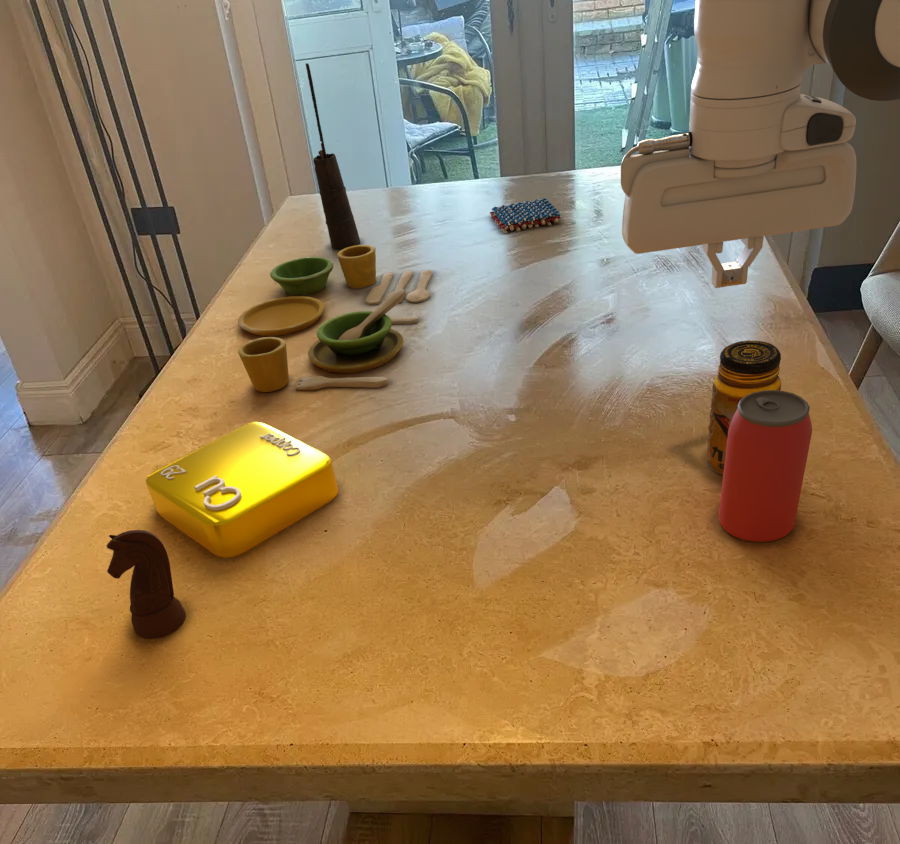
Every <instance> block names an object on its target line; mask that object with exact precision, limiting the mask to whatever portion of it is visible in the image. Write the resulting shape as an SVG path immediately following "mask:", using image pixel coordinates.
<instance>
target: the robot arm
mask: <svg viewBox="0 0 900 844" xmlns="http://www.w3.org/2000/svg"><path fill="white" fill-rule="evenodd" d="M694 3H695V4H694V21H693V33H694V41H695V44H696V52H697V58H696V59H697V61H696V66H695V70H694V71H695V72H694V75H693V78H692V82H691V86H690V103H689V105H690V106H689V124H688V132H685V133H679V134H674V135H669V136H665V137H662V138H656V139H654V138H646V139H643V140H640V141H638V142H637V145H635V146H634V147H632V148H630V149H629V150H628V151H627V152H626V153H625V154H624V156H623V158H622V161H621V164H620V187H621V189H622V191H623V193H624V194H625V196H624V202H623V210H622V220H621V223H622V224H621V236H622V239H623V242H624V244H625V245H626V247H628V248H629V250H630V251H631V252H632V253H634V254H636V255H640V254H648V253H653V252H661V251H668V250H675V249H682V248H690V247H696V246H701V249H702V251H703V252H704V254H705V256H706V258H707V261H708V262H709V263H710V265H711V266H712V267H711V284H712V285H711V286H713V288H714V289H720V288H726V287H733V286H734V287H735V286H742V285H746V284H747V282H748V274H749V272H748V271H749V267H751V265H752V264H753V262H754V261H755V259H756V258H757V257H758V255H759V253H760V252H761V251H762V249H763V245H764V237H767V236H772V235H780V234H788V233H796V232H802V231H808V230H815V229H823V228H829V227H836V226H840V225H842V224H843V223H844V222H845V220H846V219H847V218H848V217H849V215H850V214H851V212H852V210H853V207H854V206H853V205H854V201H855V193H856V184H857V183H856V181H857V154H856V152H855V149H854V148H853V146H852V145H851V144H850V143H848V141H850V140H851V139H852V138H853V136H854V133H855V130H856V125H857V118H856V116H855V115H854V114H853V112H851V111H850V110H849V109H847V108H845V107H844V106H843V105H841V104H838V103H837V102H834V101H831V100H829V99H826V98H823V97H818V96H813V95H810V94H803V93H801V91H802V82H803V75H804V72H805V71H806V70H807V69H808V68H809V67H811V66H815V65H823V64H828V66H830V67H831V69H832V70H833V72H834V73H835V76H836V77H837V78H838V80H839V81H840V82H841V84H842V85H843V86H844V87H845V88H846V89H847V90H848V91H850V92H851V93H853V94H854V95H856V96H858V97H861V98H863V99H866V100H871V101H877V102H889V101H896V100H900V0H695V2H694ZM636 153H637V154H636ZM739 240H740V241H741V242H742V243H743V245H744V247H743V248H742V250H741V251H740V253H739V255H738V256H737V258H736V260H734V261H729V262H721V261H720V259H719V257H718V254H722V253H723V250H724V249H723V248H724V242H732V241H739Z"/></svg>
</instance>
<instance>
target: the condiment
mask: <svg viewBox="0 0 900 844" xmlns="http://www.w3.org/2000/svg"><path fill="white" fill-rule="evenodd" d="M781 360H782V355H781V351H780V350H779V348H777V346H775V345H774V344H772V343H770V342H766V341H763V340H762V341H761V340H741V341H736V342H733V343H730V344H729V345H727V346H725V347H724V348H723V349H722V351H721V352H720V355H719V364H718V367H717V368H718V369H717V372H718V373H717V374H716V376H715V378H714V380H713V383H712V389H711V390H712V393H711V400H710V411H709V412H710V413H709V424H708V425H707V426H708V436H707V447H706V455H707V456H706V462H707V463H706V464H707V467H709V468H710V469H711V471H713V472H714V473H716V474H718V475H721V476H723V473H724V464H725V456H726V447H727V438H728V429H729V426H730V424H731V421H732V418H733V416H734V414H735V412H736V411H737V409H738V408H737V407H738V404H739V401H740V400H741V399H742V398H744V397H745V396H747V395H749V394H751V393H754V392H759V391H766V390H777V391H782V379H781V378H780V376H779V374H780V371H781V369H780V368H781V367H780V364H781Z"/></svg>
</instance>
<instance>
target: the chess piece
mask: <svg viewBox="0 0 900 844" xmlns="http://www.w3.org/2000/svg"><path fill="white" fill-rule="evenodd" d="M108 537H109V538H111V540H110V541H108V543H107V544H106V548H107V550H110V551H112V556H111V559H110V562H109V565H108V568H107V570H106V573H108V574H109V575H110V576H111V577H112V578H114V579H118V580H119V579H120V578H121V577H122V576H123V574H124V573H126V572H127V571H129V570H130V569H133V570H132V574H131V579H130V585H129V600H130V602H129V603H130V606H129V612H130V613H131V616H130V617H131V618H130V619H131V620H130V621H131V624H132V626H133V627H132V628H133V630H134V632H135V634H136V635H137V637H139V638H141V639H145V640H157V639H162V638H165V637H167V636H169V635H171V634H173V633H174V632H176V631H177V630H179V629H180V628H181V627H182V625H183V624H184V623H185V621H186V617H187V613H186V610H185V608H184V606H183V605H182V603H181V601H179V599H178V598H177V597H175V592H174V584H173V579H172V578H173V577H172V570H171V563H170V559H169V555H168V551H167V550H166V547H165V545H164V543H163V542H162V540H161V539H160V538H159V537H158V536H157V535H156V534H154V533H152V532H151V531H148V530H143V529H133V530H127V531H123V532H121V533H119V534H117V535H116V534H109V535H108Z"/></svg>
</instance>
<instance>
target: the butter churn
mask: <svg viewBox="0 0 900 844" xmlns="http://www.w3.org/2000/svg"><path fill="white" fill-rule="evenodd" d="M305 70H306V74H307V79H308V84H309V88H310V94H311V100H312V104H313V109H314V113H315V115H314V116H315V118H316V124H317V125H316V127H317V129H318V135H319V141H320V142H321V143H320V147H321V149H320V150H319V151H317V152H318V155H316V156H315V157H313V160H312V161H313V164H314V172H315V176H316V182H317V186H318V190H319V191H318V192H319V193H318V194H319V196H320V199H321V204H322V209H323V213H324V217H325V225H326V227H327V232H328V236H329V241H330V247H331V249H332V250H334V251H335V250H336V251H337V250H338V251H341V250H343V249H345V248H347V247H351V246H356V245H361V238H360V235H359V230H358V227H357V223H356V221H355V217H354V214H353V211H352V207H351V205H350V200H349V198H348V193H347V189H346V186H345V184H344V180H343V177H342V173H341V169H340V166H339V163H338V160H337V156H336V154H335V153H327V151H326V146H325V141H324V137H323V136H324V135H323V132H322V126H321V122H320V116H319V110H318V104H317V99H316V94H315V89H314V83H313V78H312V72H311V68H310V64H309V63H308V62H307V63H305Z"/></svg>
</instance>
